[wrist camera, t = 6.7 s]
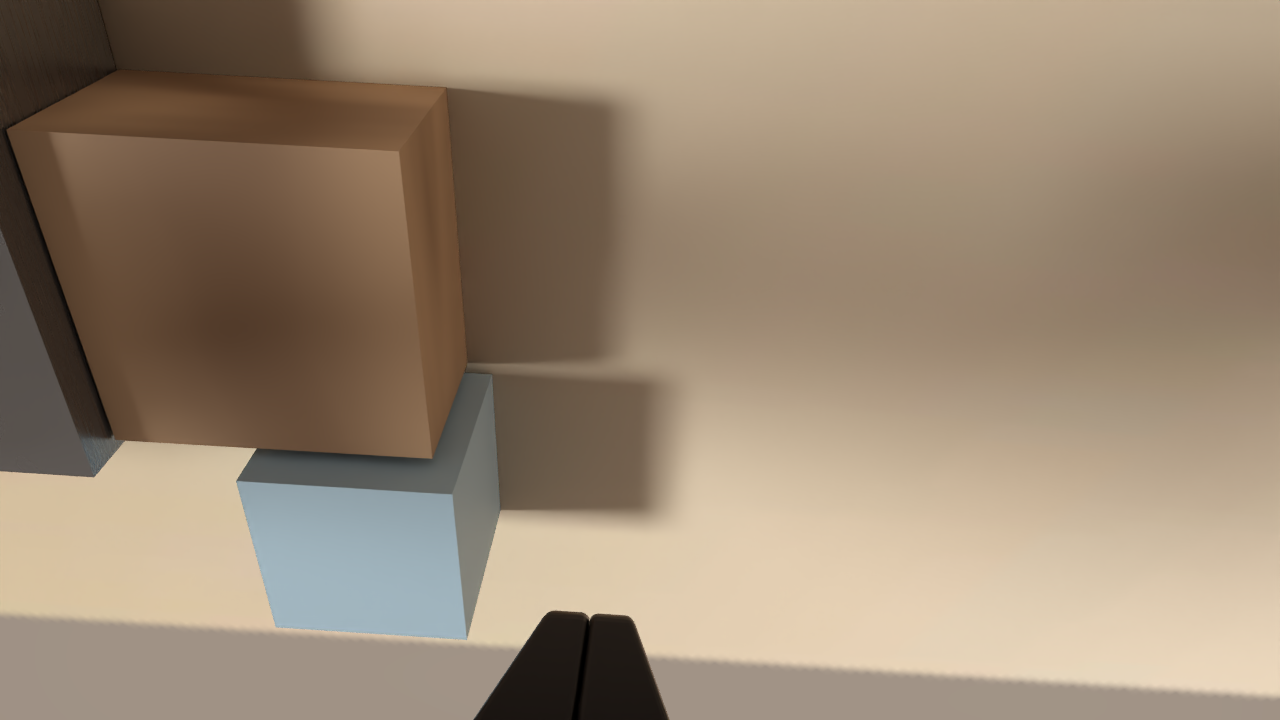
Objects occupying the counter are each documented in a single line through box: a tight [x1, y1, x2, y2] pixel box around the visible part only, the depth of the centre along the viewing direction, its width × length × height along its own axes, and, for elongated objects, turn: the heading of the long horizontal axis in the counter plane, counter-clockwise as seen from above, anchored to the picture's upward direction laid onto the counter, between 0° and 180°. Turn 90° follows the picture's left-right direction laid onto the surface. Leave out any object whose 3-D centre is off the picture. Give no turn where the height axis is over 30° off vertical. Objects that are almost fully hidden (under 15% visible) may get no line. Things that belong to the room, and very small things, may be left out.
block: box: [236, 373, 500, 640], centre depth 19 cm, size 4×4×4 cm
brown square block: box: [6, 69, 467, 459], centre depth 17 cm, size 6×6×4 cm
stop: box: [0, 0, 125, 477], centre depth 16 cm, size 3×8×4 cm, turn 178°
